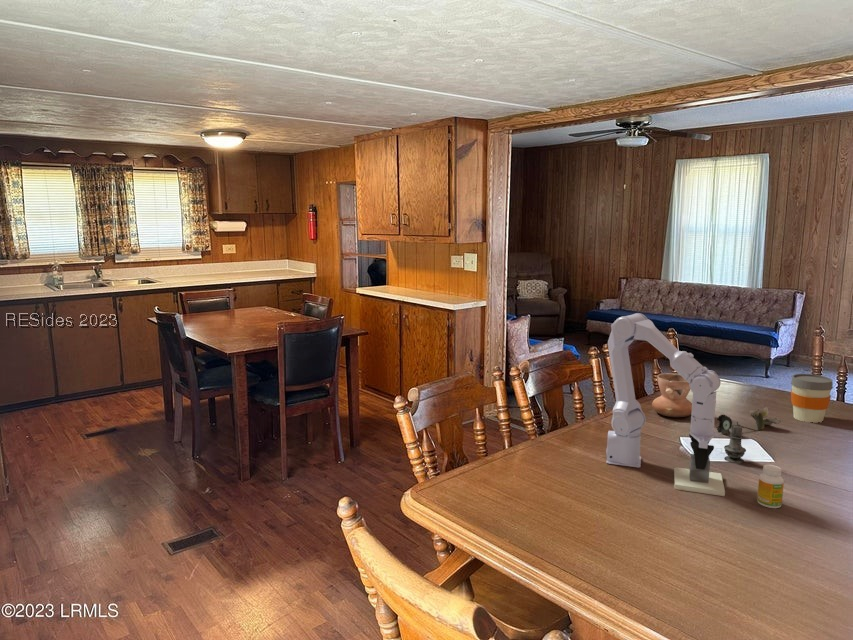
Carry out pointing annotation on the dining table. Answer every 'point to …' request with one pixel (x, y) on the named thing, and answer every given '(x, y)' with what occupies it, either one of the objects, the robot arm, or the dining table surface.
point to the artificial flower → (758, 415)
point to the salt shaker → (735, 445)
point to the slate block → (699, 471)
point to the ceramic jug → (673, 396)
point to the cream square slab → (698, 483)
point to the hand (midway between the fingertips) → (699, 464)
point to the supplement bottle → (770, 487)
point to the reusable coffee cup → (810, 396)
